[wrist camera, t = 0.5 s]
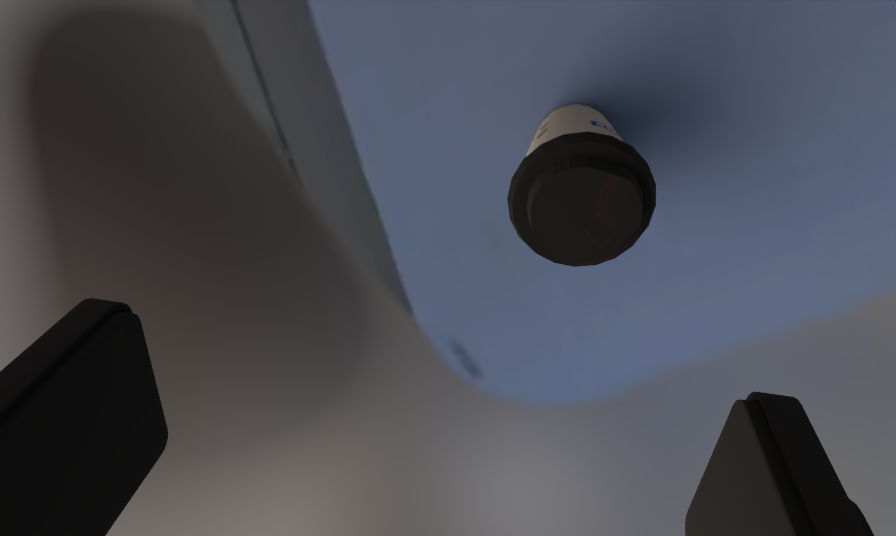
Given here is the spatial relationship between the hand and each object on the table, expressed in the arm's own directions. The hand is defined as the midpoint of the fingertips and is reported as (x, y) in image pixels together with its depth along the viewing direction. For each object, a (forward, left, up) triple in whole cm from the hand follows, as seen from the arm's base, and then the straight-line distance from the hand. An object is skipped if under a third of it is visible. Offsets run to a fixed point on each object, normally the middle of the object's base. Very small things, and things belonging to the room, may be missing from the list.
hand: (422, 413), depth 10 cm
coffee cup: (+5, +5, -29) cm, 30 cm away
